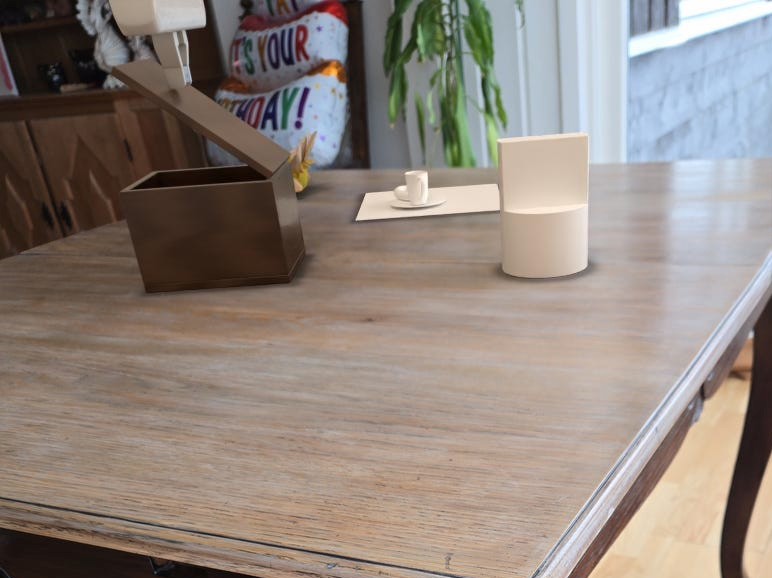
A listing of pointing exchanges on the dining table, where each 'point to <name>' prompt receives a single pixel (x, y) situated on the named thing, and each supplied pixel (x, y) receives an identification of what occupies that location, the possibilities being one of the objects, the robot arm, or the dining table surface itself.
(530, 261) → the base with upright slab
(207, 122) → the chest lid
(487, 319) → the dining table surface
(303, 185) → the decorative flower
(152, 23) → the robot arm
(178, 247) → the chest
